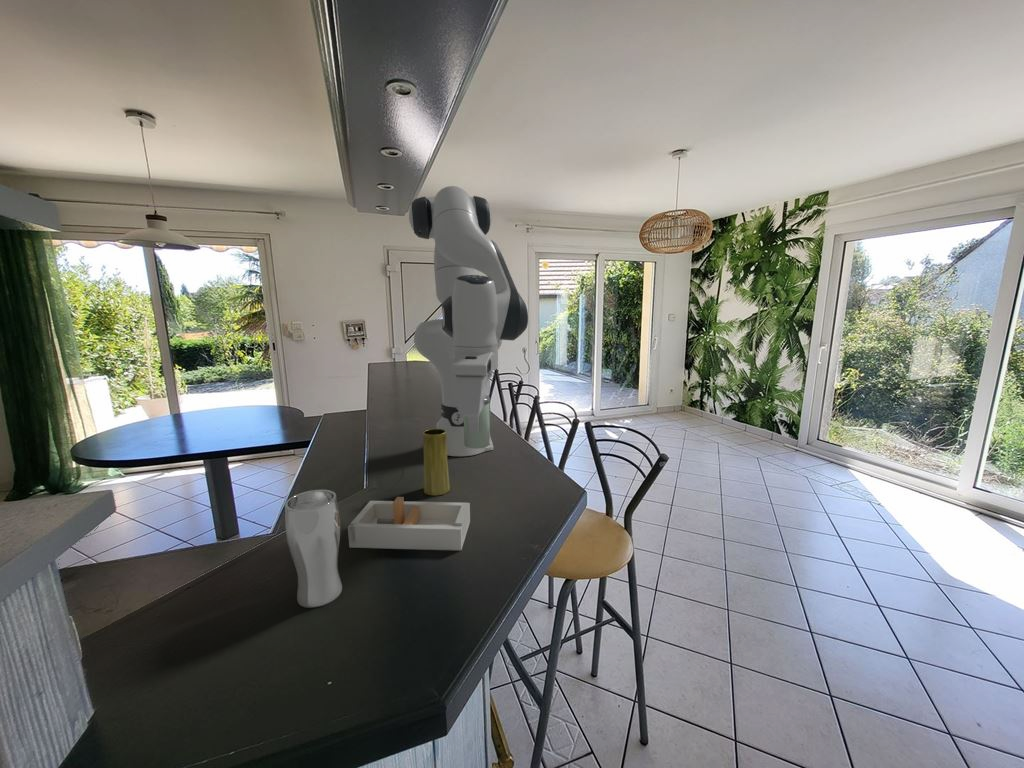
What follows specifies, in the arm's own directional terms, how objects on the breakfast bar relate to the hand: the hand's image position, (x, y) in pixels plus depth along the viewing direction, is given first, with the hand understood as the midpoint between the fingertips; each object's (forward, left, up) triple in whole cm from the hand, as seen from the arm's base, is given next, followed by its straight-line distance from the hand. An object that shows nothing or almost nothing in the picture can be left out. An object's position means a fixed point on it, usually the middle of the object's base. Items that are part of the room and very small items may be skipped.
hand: (476, 427), depth 83 cm
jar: (0, 0, -4) cm, 4 cm away
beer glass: (+27, -20, -18) cm, 38 cm away
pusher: (+10, -14, -17) cm, 24 cm away
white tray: (+10, -11, -18) cm, 23 cm away
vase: (-9, -11, -18) cm, 23 cm away
